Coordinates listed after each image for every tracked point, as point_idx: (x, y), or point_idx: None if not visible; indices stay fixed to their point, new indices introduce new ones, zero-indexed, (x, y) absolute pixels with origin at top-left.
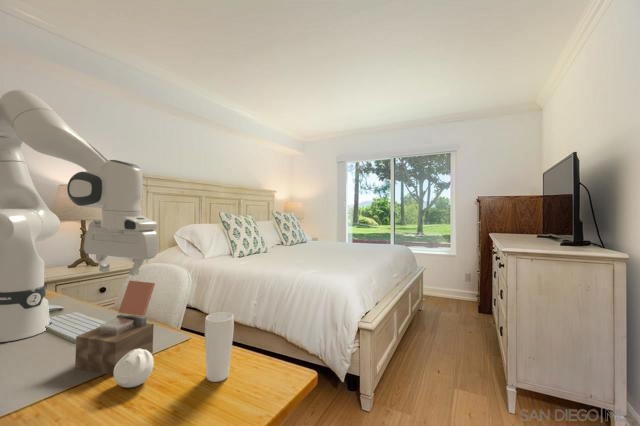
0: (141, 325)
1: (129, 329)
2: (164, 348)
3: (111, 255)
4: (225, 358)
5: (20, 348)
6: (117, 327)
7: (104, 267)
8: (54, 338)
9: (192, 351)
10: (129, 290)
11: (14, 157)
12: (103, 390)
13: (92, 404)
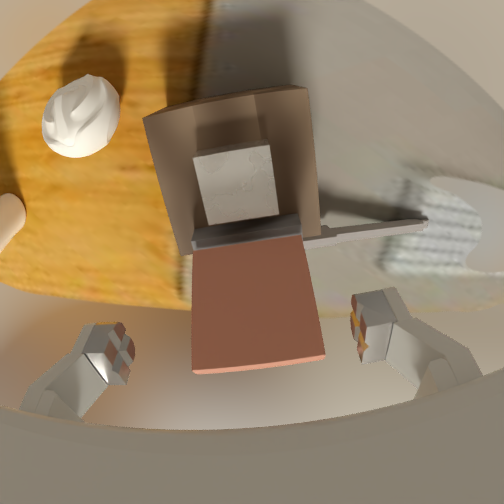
0: (195, 230)
1: None
2: None
3: (252, 433)
4: None
5: (486, 118)
6: (193, 160)
7: (362, 321)
8: (471, 174)
9: (120, 256)
10: (298, 315)
11: None
12: (130, 63)
13: (104, 33)
